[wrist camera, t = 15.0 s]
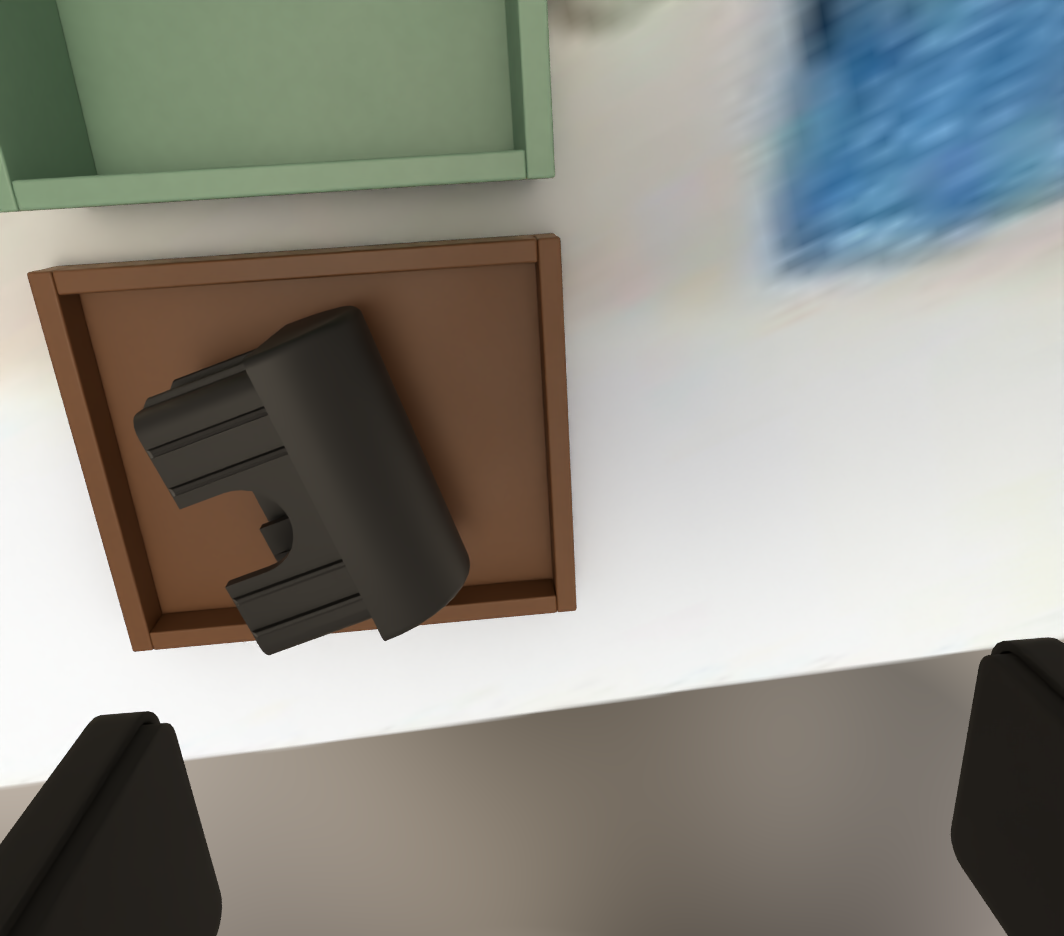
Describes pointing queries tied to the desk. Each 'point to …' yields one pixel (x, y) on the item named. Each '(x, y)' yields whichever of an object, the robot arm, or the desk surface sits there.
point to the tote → (267, 98)
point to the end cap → (314, 481)
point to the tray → (416, 372)
